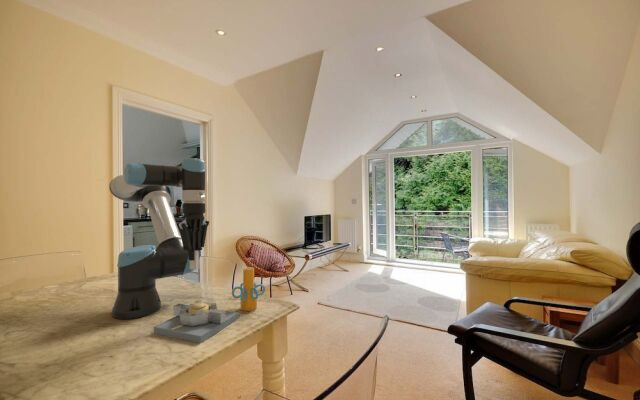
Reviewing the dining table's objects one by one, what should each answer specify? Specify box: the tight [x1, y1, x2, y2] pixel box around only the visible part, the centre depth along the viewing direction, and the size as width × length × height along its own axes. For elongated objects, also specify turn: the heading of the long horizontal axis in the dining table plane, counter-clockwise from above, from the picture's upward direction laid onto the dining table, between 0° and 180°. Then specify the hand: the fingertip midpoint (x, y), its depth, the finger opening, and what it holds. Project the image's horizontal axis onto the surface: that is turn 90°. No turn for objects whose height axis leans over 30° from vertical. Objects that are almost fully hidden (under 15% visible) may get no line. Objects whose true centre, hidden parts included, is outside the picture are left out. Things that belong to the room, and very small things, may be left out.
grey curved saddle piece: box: [173, 299, 226, 326], centre depth 94 cm, size 19×11×4 cm, turn 70°
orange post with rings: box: [231, 266, 266, 312], centre depth 108 cm, size 12×10×15 cm
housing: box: [153, 302, 240, 344], centre depth 94 cm, size 18×18×7 cm
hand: (194, 268), depth 102 cm, fingers closed
